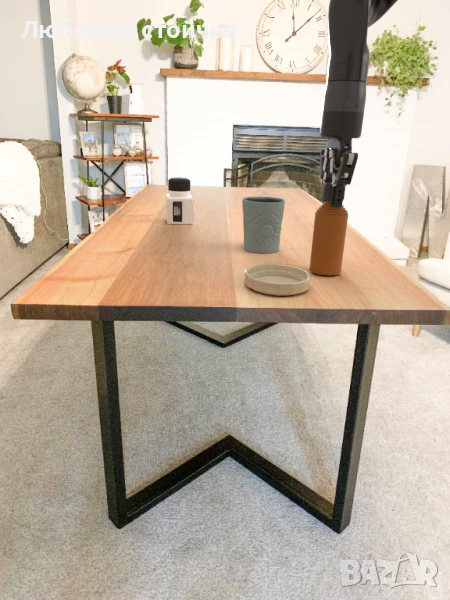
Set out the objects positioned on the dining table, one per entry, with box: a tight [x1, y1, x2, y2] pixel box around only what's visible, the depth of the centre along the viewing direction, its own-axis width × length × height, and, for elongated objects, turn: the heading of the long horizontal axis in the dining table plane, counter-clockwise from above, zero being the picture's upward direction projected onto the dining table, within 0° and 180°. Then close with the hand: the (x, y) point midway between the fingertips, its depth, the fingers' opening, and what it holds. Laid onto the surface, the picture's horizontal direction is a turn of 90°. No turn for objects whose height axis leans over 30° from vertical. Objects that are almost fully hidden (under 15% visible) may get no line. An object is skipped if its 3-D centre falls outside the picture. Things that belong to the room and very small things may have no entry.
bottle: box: [309, 200, 349, 276], centre depth 89 cm, size 6×6×17 cm
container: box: [165, 176, 194, 225], centre depth 133 cm, size 8×8×13 cm
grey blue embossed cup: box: [241, 196, 286, 254], centre depth 106 cm, size 10×10×12 cm
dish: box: [244, 263, 312, 297], centre depth 83 cm, size 12×12×2 cm
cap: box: [322, 182, 346, 201], centre depth 86 cm, size 4×4×3 cm
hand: (331, 204), depth 87 cm, fingers closed on cap, 3 cm apart
